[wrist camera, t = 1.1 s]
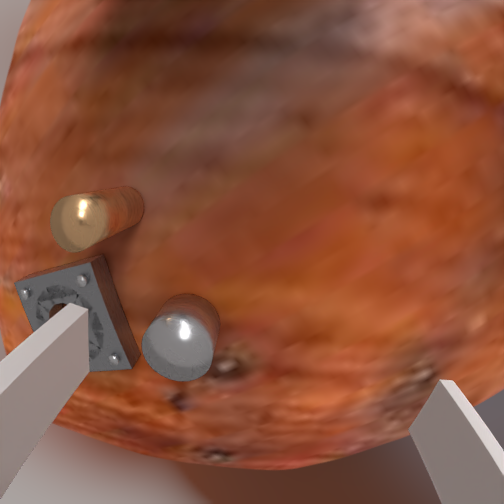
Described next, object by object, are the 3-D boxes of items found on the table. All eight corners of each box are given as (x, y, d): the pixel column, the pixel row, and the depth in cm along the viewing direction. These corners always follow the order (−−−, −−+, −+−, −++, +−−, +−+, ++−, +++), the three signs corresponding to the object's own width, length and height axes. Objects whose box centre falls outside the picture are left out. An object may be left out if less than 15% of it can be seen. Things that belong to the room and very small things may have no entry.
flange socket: (28, 274, 31) (11, 284, 28) (103, 254, 30) (87, 264, 27) (64, 360, 34) (51, 375, 31) (140, 354, 33) (130, 371, 30)
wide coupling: (152, 299, 32) (131, 325, 26) (210, 288, 31) (199, 314, 25) (171, 351, 33) (156, 384, 27) (227, 343, 33) (220, 376, 27)
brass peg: (103, 192, 29) (44, 205, 19) (138, 181, 29) (86, 188, 19) (114, 231, 30) (59, 257, 20) (148, 221, 30) (101, 245, 20)
